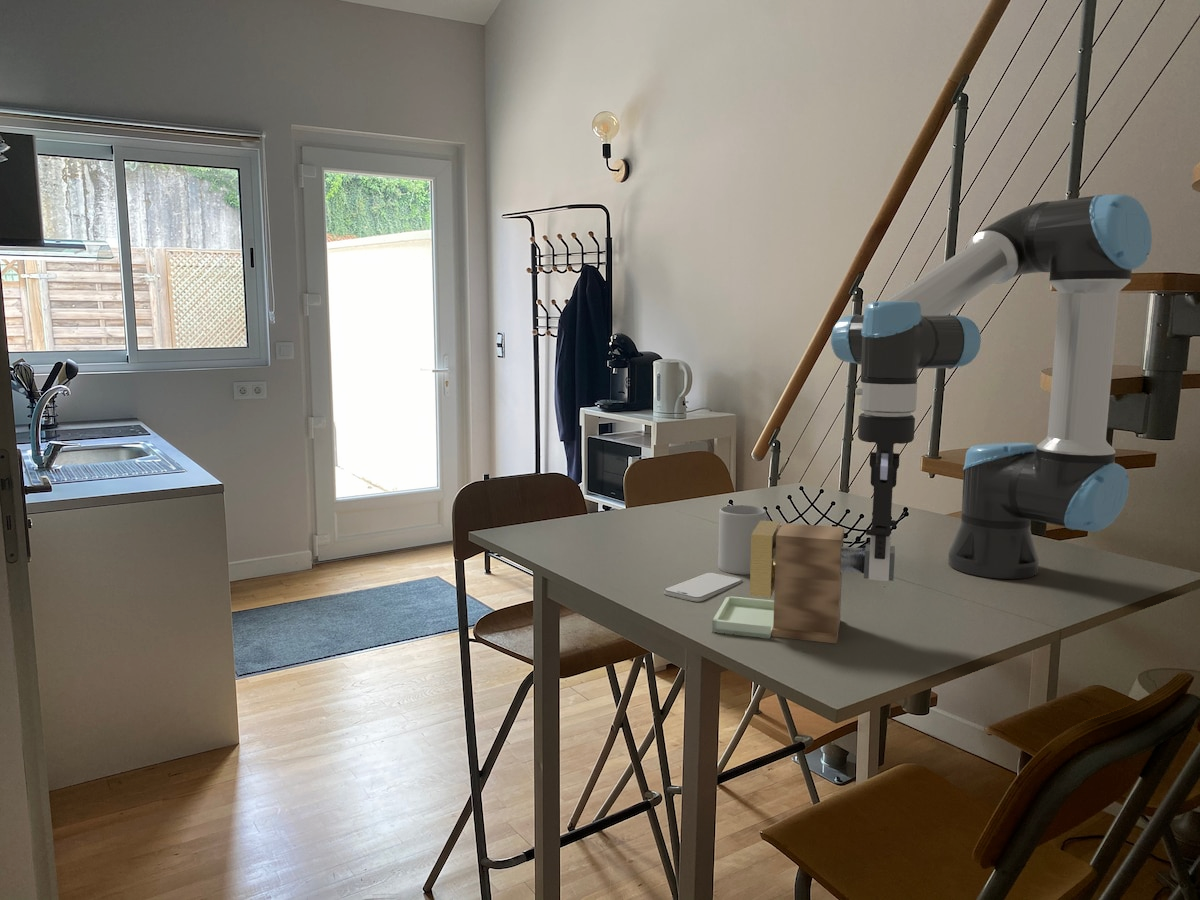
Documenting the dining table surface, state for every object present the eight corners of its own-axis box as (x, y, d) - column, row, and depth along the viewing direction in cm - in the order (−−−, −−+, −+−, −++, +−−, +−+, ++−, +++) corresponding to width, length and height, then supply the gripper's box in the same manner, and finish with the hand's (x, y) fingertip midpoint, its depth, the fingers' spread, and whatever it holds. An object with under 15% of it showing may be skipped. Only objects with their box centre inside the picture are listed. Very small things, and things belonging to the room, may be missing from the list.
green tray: (779, 612, 138) (780, 601, 138) (769, 638, 127) (770, 626, 127) (726, 606, 141) (726, 595, 140) (712, 632, 129) (712, 620, 129)
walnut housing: (840, 620, 134) (844, 525, 132) (836, 643, 125) (840, 541, 123) (780, 614, 137) (783, 521, 135) (772, 636, 128) (775, 536, 125)
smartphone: (744, 579, 154) (698, 598, 143) (744, 585, 154) (698, 605, 143) (708, 571, 159) (661, 589, 147) (708, 577, 159) (661, 596, 147)
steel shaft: (893, 573, 128) (894, 546, 127) (893, 580, 124) (894, 553, 124) (754, 561, 134) (755, 535, 133) (750, 568, 130) (751, 542, 130)
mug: (744, 577, 156) (745, 517, 155) (708, 567, 163) (709, 509, 161) (786, 565, 164) (787, 507, 162) (750, 555, 170) (751, 500, 169)
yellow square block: (778, 580, 136) (780, 521, 135) (770, 598, 127) (772, 536, 126) (758, 578, 137) (760, 520, 136) (749, 596, 128) (751, 534, 127)
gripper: (860, 406, 132) (854, 557, 136) (856, 418, 116) (848, 589, 120) (914, 407, 130) (905, 561, 133) (916, 420, 114) (907, 595, 117)
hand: (878, 574), depth 127 cm, fingers closed on steel shaft, 4 cm apart
